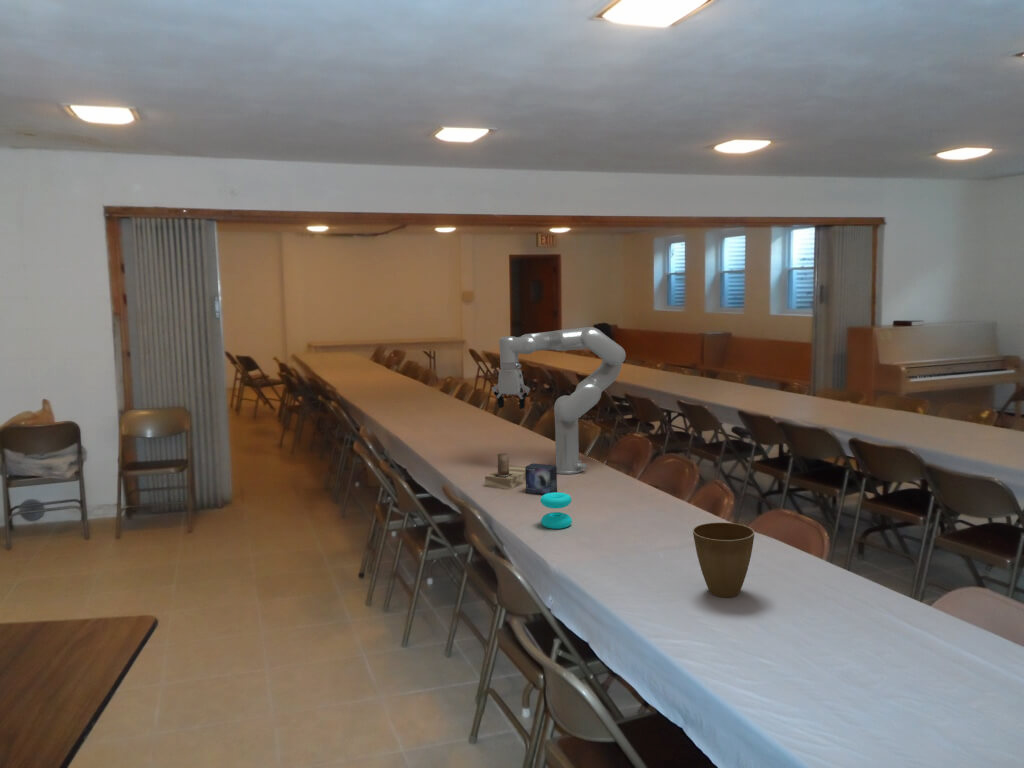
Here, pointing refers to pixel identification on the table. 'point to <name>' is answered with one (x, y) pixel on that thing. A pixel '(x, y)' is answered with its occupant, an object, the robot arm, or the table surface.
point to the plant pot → (724, 555)
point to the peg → (503, 465)
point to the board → (507, 478)
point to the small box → (541, 479)
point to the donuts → (556, 518)
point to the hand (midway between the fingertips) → (511, 407)
